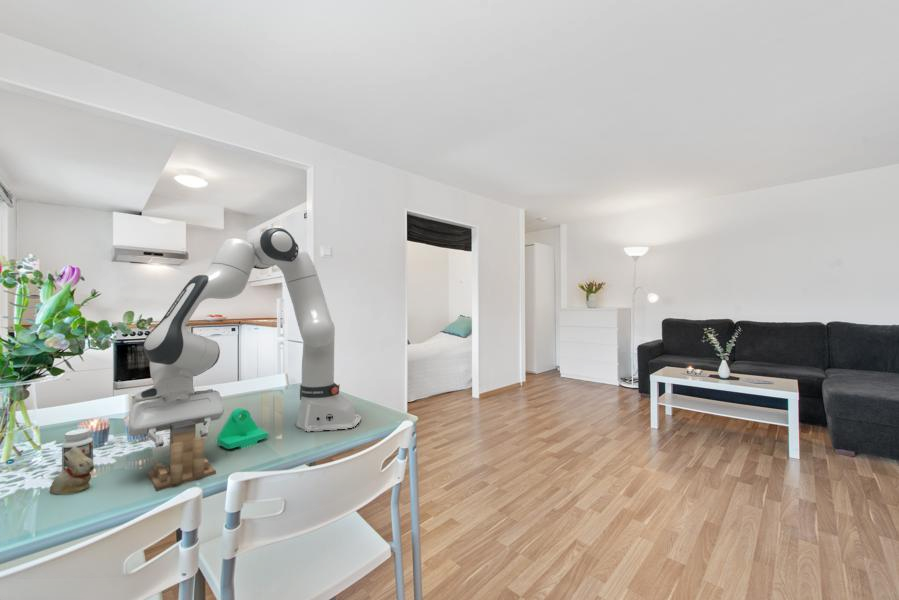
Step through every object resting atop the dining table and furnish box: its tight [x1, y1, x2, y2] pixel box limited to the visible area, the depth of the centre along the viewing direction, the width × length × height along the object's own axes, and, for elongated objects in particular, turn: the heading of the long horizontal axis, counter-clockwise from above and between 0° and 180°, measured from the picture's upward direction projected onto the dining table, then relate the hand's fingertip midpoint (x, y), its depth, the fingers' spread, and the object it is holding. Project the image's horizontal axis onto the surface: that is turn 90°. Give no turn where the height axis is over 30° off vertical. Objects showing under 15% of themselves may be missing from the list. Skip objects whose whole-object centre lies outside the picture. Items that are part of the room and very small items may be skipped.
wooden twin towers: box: [147, 436, 217, 492], centre depth 93 cm, size 13×12×10 cm
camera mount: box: [216, 407, 268, 450], centre depth 114 cm, size 12×8×10 cm, turn 145°
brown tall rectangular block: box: [168, 420, 197, 474], centre depth 94 cm, size 4×4×12 cm
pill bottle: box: [61, 428, 94, 473], centre depth 95 cm, size 6×6×10 cm
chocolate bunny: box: [49, 447, 95, 495], centre depth 85 cm, size 6×8×10 cm
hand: (183, 440), depth 93 cm, fingers open, 8 cm apart
